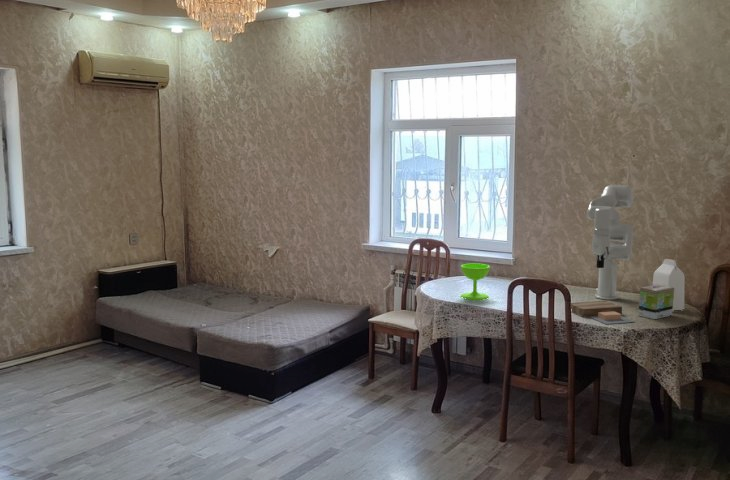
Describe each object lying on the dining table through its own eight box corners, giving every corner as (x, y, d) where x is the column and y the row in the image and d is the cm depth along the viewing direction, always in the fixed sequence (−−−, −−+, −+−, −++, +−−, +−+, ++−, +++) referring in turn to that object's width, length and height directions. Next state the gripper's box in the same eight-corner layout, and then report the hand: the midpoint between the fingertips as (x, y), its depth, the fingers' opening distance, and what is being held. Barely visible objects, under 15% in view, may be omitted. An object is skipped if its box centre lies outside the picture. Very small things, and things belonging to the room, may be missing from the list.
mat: (589, 317, 333) (589, 316, 333) (617, 315, 337) (617, 314, 337) (605, 324, 320) (605, 323, 319) (635, 322, 323) (635, 321, 323)
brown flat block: (568, 310, 347) (568, 303, 346) (605, 308, 352) (606, 300, 351) (582, 317, 333) (583, 309, 333) (621, 314, 338) (622, 306, 338)
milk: (649, 306, 355) (652, 258, 351) (666, 304, 359) (669, 257, 355) (667, 312, 344) (670, 262, 340) (684, 310, 348) (687, 260, 344)
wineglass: (493, 296, 379) (494, 265, 377) (482, 301, 366) (483, 269, 364) (467, 293, 388) (467, 262, 385) (455, 298, 374) (456, 266, 372)
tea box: (656, 320, 328) (658, 290, 326) (637, 316, 336) (639, 287, 334) (672, 315, 337) (674, 286, 334) (654, 311, 345) (655, 283, 342)
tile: (605, 315, 325) (604, 320, 326) (621, 314, 327) (621, 319, 328) (598, 312, 331) (597, 317, 332) (614, 311, 333) (614, 316, 334)
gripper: (587, 230, 347) (585, 265, 350) (603, 235, 332) (601, 271, 336) (600, 229, 348) (598, 264, 352) (616, 234, 334) (615, 270, 337)
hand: (600, 267), depth 344 cm, fingers closed
